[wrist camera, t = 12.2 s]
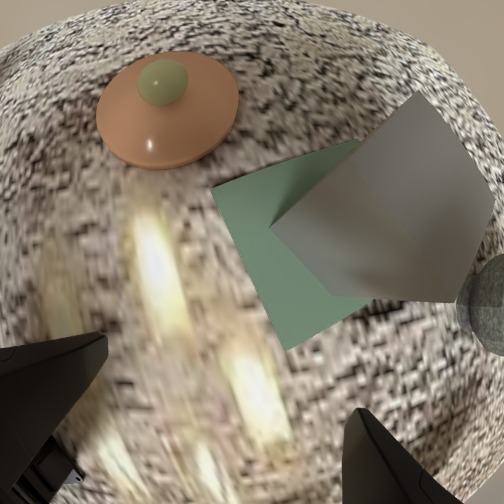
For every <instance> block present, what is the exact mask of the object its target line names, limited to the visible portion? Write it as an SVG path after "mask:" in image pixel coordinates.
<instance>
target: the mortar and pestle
mask: <svg viewBox="0 0 504 504" xmlns="http://www.w3.org/2000/svg"><path fill="white" fill-rule="evenodd" d="M456 308H457V318H458V323H459V325H460V326H461V327H462V329H463V330H464V332H474V333H475V335H476V336H477V338H478V339H479V341H480V342H481V344H482V345H483V346H484V347H485V348H486V349H487V350H488V351H489V352H492V353H494V354H497V355H499V356H504V254H501V255H498V256H496V257H494V258H493V259H492V260H490V261H489V262H488V263H487V264H486V265H485V266H484V268H483V270H482V271H481V273H480V274H479V275H468V276H467V277H466V279H465V281H464V284H463V286H462V288H461V290H460V292H459V294H458V299H457V303H456Z"/></svg>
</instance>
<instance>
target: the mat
mask: <svg viewBox="0 0 504 504" xmlns="http://www.w3.org/2000/svg"><path fill="white" fill-rule="evenodd" d="M359 143H360V141H359V140H358V139H355V140H351V141H348V142H344V143H341V144H338V145H334V146H331V147H328V148H324V149H321V150H318V151H315V152H311V153H308V154H305V155H302V156H299V157H296V158H293V159H290V160H287V161H284V162H281V163H278V164H276V165H273V166H270V167H267V168H264V169H261V170H259V171H256V172H253V173H251V174H248V175H245V176H243V177H240V178H237V179H235V180H232V181H229V182H227V183H224V184H222V185H219V186H217V187H214V188H212V189H211V193H212V195H213V197H214V199H215V202H216V204H217V206H218V208H219V210H220V213H221V215H222V217H223V219H224V221H225V224H226V226H227V228H228V230H229V232H230V235H231V237H232V239H233V241H234V243H235V246H236V248H237V250H238V252H239V254H240V256H241V259H242V261H243V263H244V265H245V267H246V269H247V272H248V274H249V276H250V278H251V280H252V282H253V285H254V287H255V289H256V291H257V293H258V295H259V298H260V300H261V302H262V304H263V306H264V308H265V310H266V313H267V315H268V317H269V319H270V321H271V323H272V325H273V327H274V330H275V332H276V334H277V336H278V338H279V340H280V342H281V344H282V346H283V349H284V350H285V351H287V350H289V349H291V348H293V347H295V346H296V345H298V344H300V343H302V342H304V341H306V340H307V339H309V338H311V337H313V336H314V335H316V334H318V333H320V332H322V331H323V330H325V329H327V328H328V327H330V326H332V325H333V324H335V323H337V322H338V321H340V320H342V319H343V318H345V317H347V316H348V315H350V314H352V313H353V312H355V311H356V310H358V309H359V308H361V307H363V306H364V305H366V304H367V303H369V302H370V301H372V300H373V299H372V298H359V297H347V296H335V295H331V294H330V293H329V291H328V290H327V289H326V288H325V287H324V286H323V285H322V284H321V283H320V282H319V281H318V280H317V278H316V277H315V276H314V275H313V274H312V273H311V272H310V271H309V270H308V269H307V268H306V267H305V266H304V264H303V263H302V262H301V261H300V260H299V259H298V258H297V257H296V256H295V255H294V254H293V253H292V252H291V251H290V250H289V249H288V247H287V246H286V245H285V244H284V243H283V242H282V241H281V240H280V239H279V238H278V237H277V236H276V235H275V234H274V233H273V232H272V231H271V230H270V229H269V228H270V227H271V226H272V225H273V224H274V223H275V222H276V221H277V220H278V219H279V218H280V217H281V216H282V215H283V214H284V213H285V212H286V211H287V210H288V209H289V208H290V207H292V206H293V205H294V204H295V203H296V202H297V201H298V200H299V199H300V198H301V197H302V196H303V195H304V194H305V193H306V192H307V191H308V190H309V189H310V188H311V187H312V186H313V185H314V184H315V183H316V182H317V181H318V180H320V179H321V178H322V177H323V176H324V175H325V174H326V173H327V172H328V171H329V170H330V169H331V168H332V167H333V166H334V165H336V164H337V163H338V162H339V161H340V160H341V159H342V158H343V157H344V156H345V155H347V154H348V153H349V152H350V151H351V150H352V149H353V148H354V147H355V146H357V145H358V144H359Z"/></svg>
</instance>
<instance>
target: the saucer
mask: <svg viewBox="0 0 504 504" xmlns="http://www.w3.org/2000/svg"><path fill="white" fill-rule="evenodd" d="M238 104H239V91H238V87H237V83H236V81H235V79H234V77H233V76H232V74H231V73H230V72H229V70H228V69H227V68H226V67H225V66H223V65H222V64H221V63H219V62H218V61H216V60H214V59H213V58H210V57H208V56H206V55H202V54H199V53H194V52H187V51H171V52H163V53H158V54H154V55H151V56H148V57H145V58H143V59H140V60H138V61H136V62H135V63H133V64H131V65H129V66H128V67H126V68H125V69H124V70H122V71H121V72H120V73H119V74H118V75H117V76H115V77H114V78H113V79H112V81H111V82H110V83H109V84H108V86H107V87H106V89H105V90H104V92H103V94H102V96H101V97H100V100H99V103H98V106H97V111H96V123H97V128H98V131H99V134H100V136H101V137H102V139H103V141H104V142H105V144H106V145H107V147H108V148H109V149H110V151H111V152H112V153H113V154H114V155H115V156H116V157H117V158H118V159H120V160H121V161H123V162H125V163H127V164H129V165H131V166H134V167H138V168H142V169H149V170H165V169H173V168H177V167H181V166H184V165H187V164H190V163H193V162H195V161H197V160H199V159H201V158H203V157H204V156H206V155H208V154H209V153H210V152H212V151H213V150H214V149H216V148H217V147H218V146H219V145H220V144H221V143H222V142H223V141H224V139H225V138H226V137H227V136H228V134H229V132H230V131H231V129H232V127H233V124H234V122H235V118H236V114H237V109H238Z"/></svg>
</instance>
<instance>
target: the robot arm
mask: <svg viewBox="0 0 504 504" xmlns="http://www.w3.org/2000/svg"><path fill="white" fill-rule="evenodd" d="M107 357H108V338H107V336H106V335H105V334H103V333H101V332H98V331H96V332H91V333H86V334H81V335H76V336H71V337H66V338H61V339H55V340H50V341H44V342H38V343H33V344H27V345H20V346H14V347H7V348H0V504H50V502H51V501H52V499H53V498H54V496H55V495H56V493H57V492H58V491H59V490H60V488H61V487H62V485H63V484H72V483H83V481H84V477H83V476H82V475H81V474H80V472H79V471H78V470H77V469H76V467H75V466H74V465H73V464H72V462H71V461H70V460H69V459H68V457H67V456H66V455H65V453H64V452H63V451H62V449H61V448H60V447H59V445H58V444H57V442H56V441H55V439H54V438H53V437H52V435H51V434H52V432H53V431H54V430H55V429H56V427H57V426H58V425H59V423H60V422H61V421H62V420H63V418H64V417H65V416H66V415H67V413H68V412H69V411H70V410H71V408H72V407H73V406H74V405H75V403H76V402H77V401H78V400H79V398H80V397H81V396H82V395H83V393H84V392H85V391H86V390H87V388H88V387H89V386H90V384H91V383H92V381H93V380H94V378H95V377H96V375H97V373H98V372H99V370H100V369H101V367H102V366H103V364H104V363H105V361H106V359H107ZM342 504H464V503H462V502H461V501H460V500H458V499H457V498H456V497H455V496H453V495H452V494H451V493H450V492H448V491H447V490H446V489H445V488H444V487H442V486H441V485H440V484H439V483H438V482H437V481H436V480H435V479H434V478H433V477H432V476H431V475H430V474H429V473H428V472H427V471H426V470H425V469H422V466H421V465H420V464H419V463H418V462H417V461H416V460H415V459H414V458H413V457H412V456H411V455H410V454H409V453H408V451H407V450H406V449H405V448H404V447H403V446H402V445H401V444H400V443H399V442H398V441H397V440H396V439H395V438H394V437H393V436H392V435H391V433H390V432H389V431H388V430H387V429H386V428H385V427H384V426H383V425H382V424H381V423H380V422H379V421H378V419H377V418H376V417H375V416H374V415H373V414H372V413H371V412H370V411H369V410H368V409H366V408H356V409H355V410H354V411H353V413H352V414H351V416H350V417H349V419H348V420H347V422H346V424H345V428H344V442H343V454H342Z"/></svg>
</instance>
